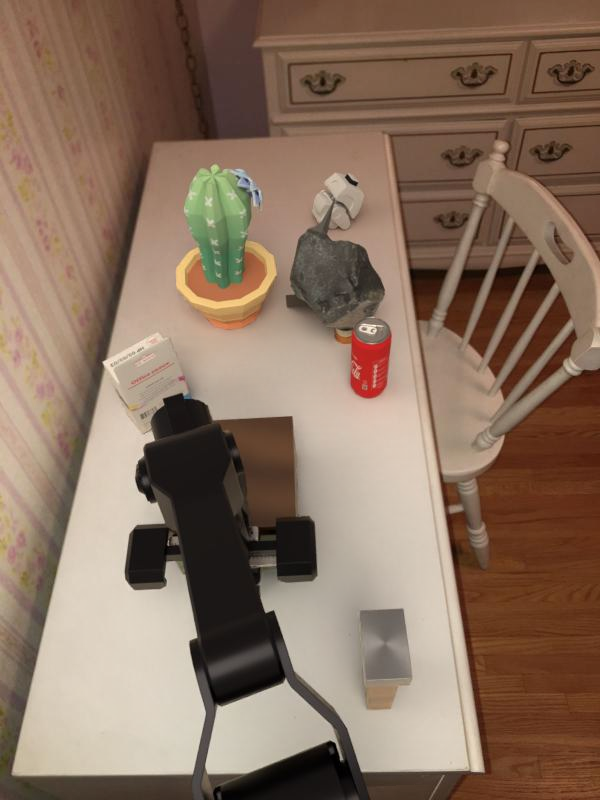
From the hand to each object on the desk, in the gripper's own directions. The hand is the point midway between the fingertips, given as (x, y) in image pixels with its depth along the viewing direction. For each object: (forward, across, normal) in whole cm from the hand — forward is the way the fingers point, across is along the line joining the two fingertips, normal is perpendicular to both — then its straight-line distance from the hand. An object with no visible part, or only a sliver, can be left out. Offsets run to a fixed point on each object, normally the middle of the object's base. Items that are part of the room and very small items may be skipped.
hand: (233, 582), depth 71 cm
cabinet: (+5, 0, -12) cm, 13 cm away
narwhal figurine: (+6, -14, -42) cm, 44 cm away
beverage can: (+6, -18, -30) cm, 35 cm away
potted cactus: (+6, +2, -47) cm, 47 cm away
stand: (+5, -15, +10) cm, 19 cm away
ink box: (+6, +12, -28) cm, 31 cm away
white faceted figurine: (+6, -16, -67) cm, 69 cm away
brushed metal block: (-8, -15, +10) cm, 20 cm away
